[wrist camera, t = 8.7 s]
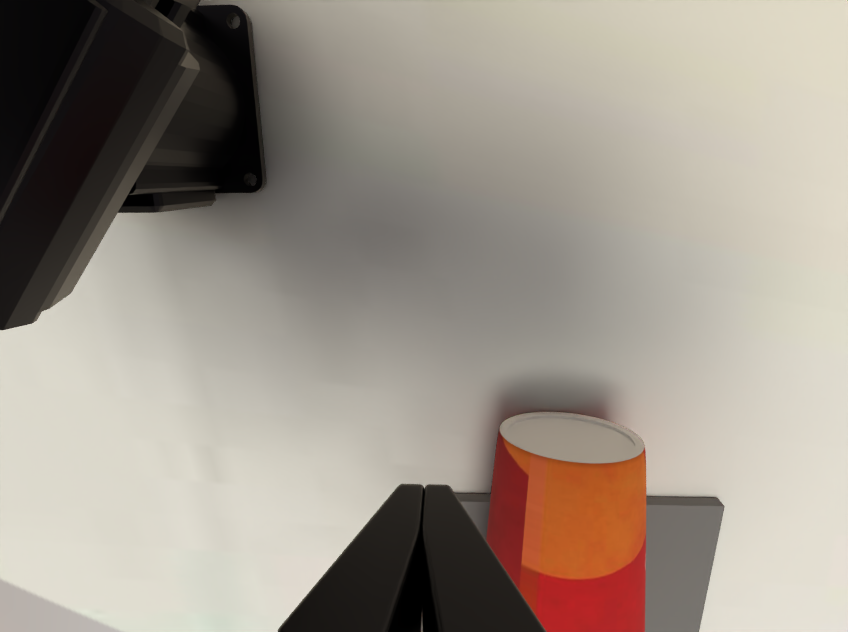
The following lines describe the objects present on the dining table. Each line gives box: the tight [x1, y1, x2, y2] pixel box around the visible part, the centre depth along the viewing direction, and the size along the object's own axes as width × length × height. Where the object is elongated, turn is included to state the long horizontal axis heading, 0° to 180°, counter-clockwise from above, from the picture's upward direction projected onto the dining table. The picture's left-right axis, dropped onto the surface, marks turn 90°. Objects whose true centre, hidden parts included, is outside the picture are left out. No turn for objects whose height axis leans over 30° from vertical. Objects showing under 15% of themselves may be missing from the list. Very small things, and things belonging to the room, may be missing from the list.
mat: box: [421, 493, 724, 632], centre depth 24 cm, size 13×15×1 cm
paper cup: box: [486, 412, 646, 632], centre depth 20 cm, size 8×8×14 cm
